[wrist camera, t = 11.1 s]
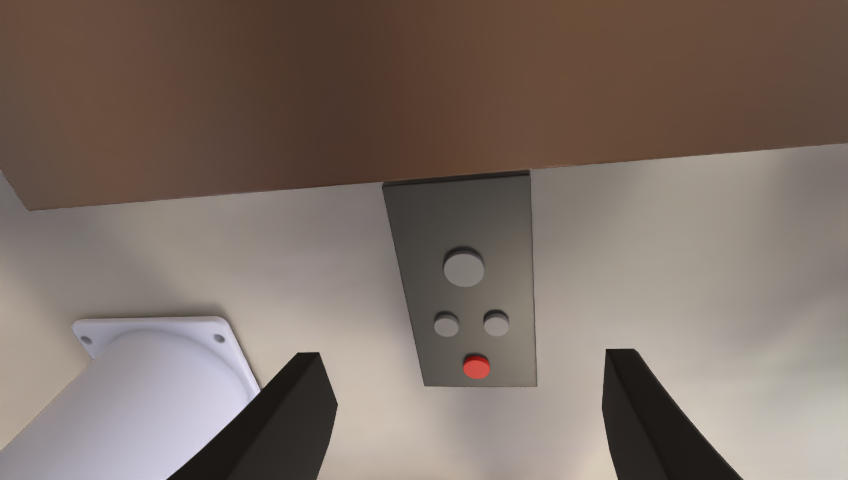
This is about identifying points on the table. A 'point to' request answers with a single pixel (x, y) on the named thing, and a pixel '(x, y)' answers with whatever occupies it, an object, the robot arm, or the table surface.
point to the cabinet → (397, 89)
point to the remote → (468, 276)
